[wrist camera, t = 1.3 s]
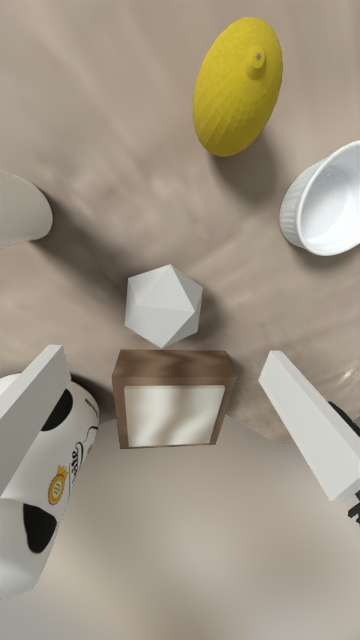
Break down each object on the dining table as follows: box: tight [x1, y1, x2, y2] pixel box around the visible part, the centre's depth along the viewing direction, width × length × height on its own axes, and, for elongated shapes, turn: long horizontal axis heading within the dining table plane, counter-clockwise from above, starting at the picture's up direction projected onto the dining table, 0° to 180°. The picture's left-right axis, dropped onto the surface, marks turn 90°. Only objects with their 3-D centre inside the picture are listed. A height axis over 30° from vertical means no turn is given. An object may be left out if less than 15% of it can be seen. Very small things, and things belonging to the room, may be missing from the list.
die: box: [125, 264, 203, 349], centre depth 20 cm, size 8×9×10 cm
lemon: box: [193, 17, 283, 157], centre depth 13 cm, size 6×6×8 cm
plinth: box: [112, 350, 237, 449], centre depth 29 cm, size 16×16×6 cm
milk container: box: [0, 372, 100, 600], centre depth 23 cm, size 17×17×18 cm
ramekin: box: [279, 140, 360, 256], centre depth 18 cm, size 9×9×4 cm
